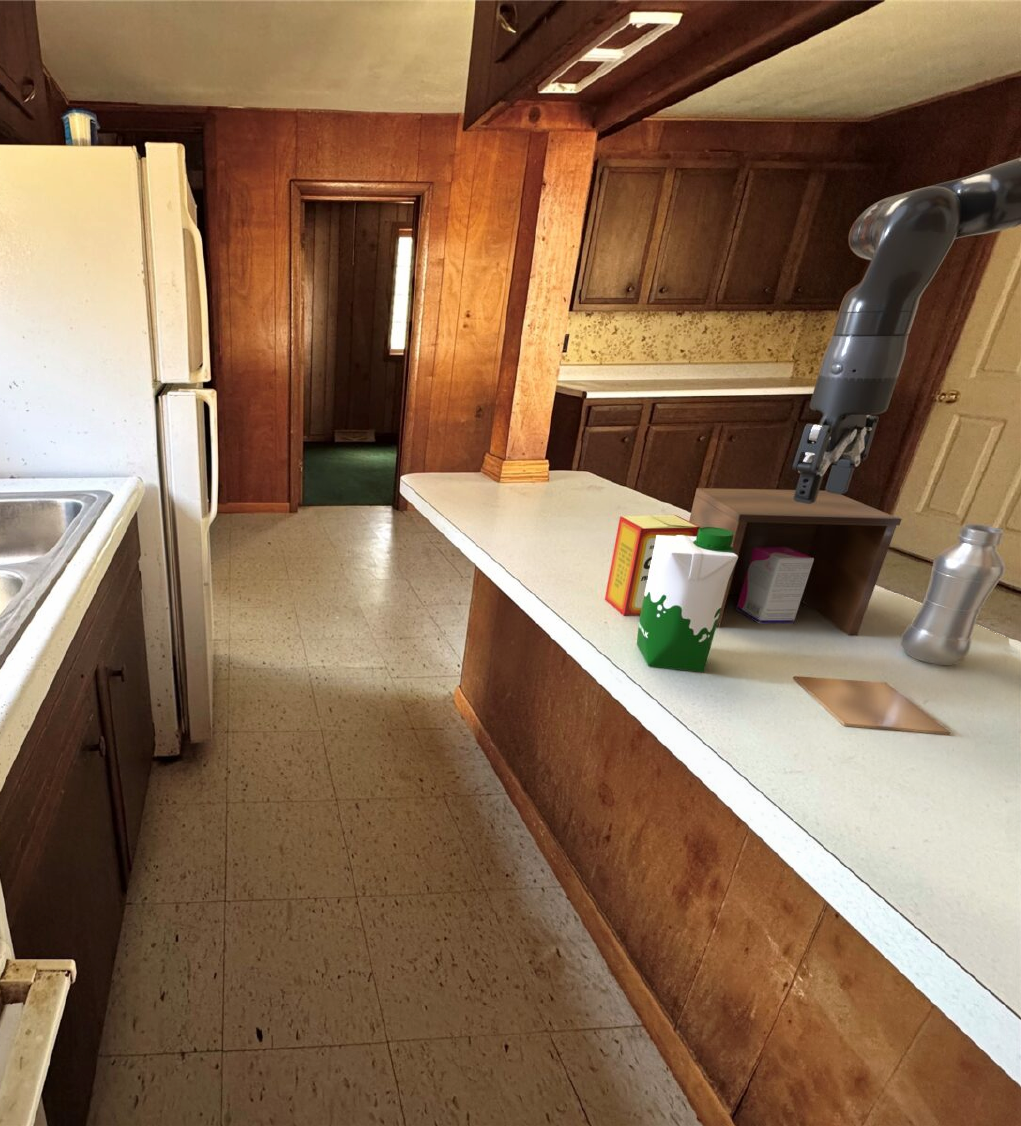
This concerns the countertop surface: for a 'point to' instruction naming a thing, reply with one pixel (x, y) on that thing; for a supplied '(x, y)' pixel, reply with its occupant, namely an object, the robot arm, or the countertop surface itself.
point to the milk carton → (684, 598)
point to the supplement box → (774, 584)
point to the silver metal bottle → (955, 596)
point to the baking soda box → (638, 557)
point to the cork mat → (869, 705)
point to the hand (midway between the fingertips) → (819, 497)
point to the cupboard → (805, 543)
